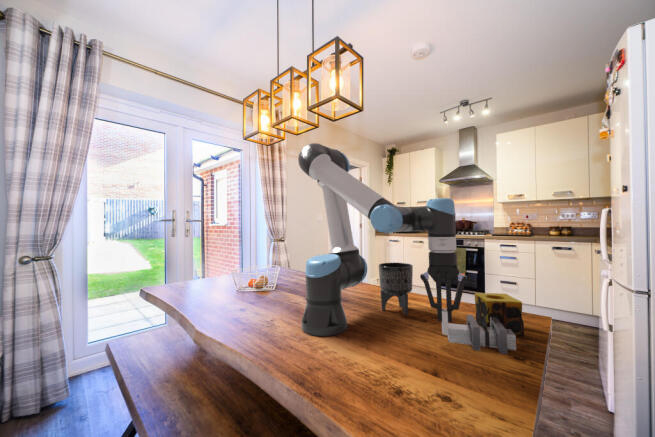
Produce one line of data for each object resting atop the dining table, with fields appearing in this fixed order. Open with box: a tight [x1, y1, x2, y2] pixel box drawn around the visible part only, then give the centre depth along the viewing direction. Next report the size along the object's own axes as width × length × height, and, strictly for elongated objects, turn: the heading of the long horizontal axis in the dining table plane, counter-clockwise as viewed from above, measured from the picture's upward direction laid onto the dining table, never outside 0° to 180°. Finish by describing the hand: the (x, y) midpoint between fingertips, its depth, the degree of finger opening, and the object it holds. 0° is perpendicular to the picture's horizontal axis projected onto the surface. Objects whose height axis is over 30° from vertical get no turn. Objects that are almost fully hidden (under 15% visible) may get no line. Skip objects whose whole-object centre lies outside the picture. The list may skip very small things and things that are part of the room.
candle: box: [474, 292, 525, 337], centre depth 82 cm, size 10×10×10 cm
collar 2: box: [490, 317, 508, 355], centre depth 71 cm, size 2×10×6 cm, turn 160°
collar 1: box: [466, 314, 481, 352], centre depth 73 cm, size 2×10×6 cm, turn 160°
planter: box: [378, 262, 414, 316], centre depth 101 cm, size 13×13×18 cm
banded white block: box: [446, 322, 517, 351], centre depth 72 cm, size 16×4×4 cm, turn 70°
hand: (445, 332), depth 75 cm, fingers closed
